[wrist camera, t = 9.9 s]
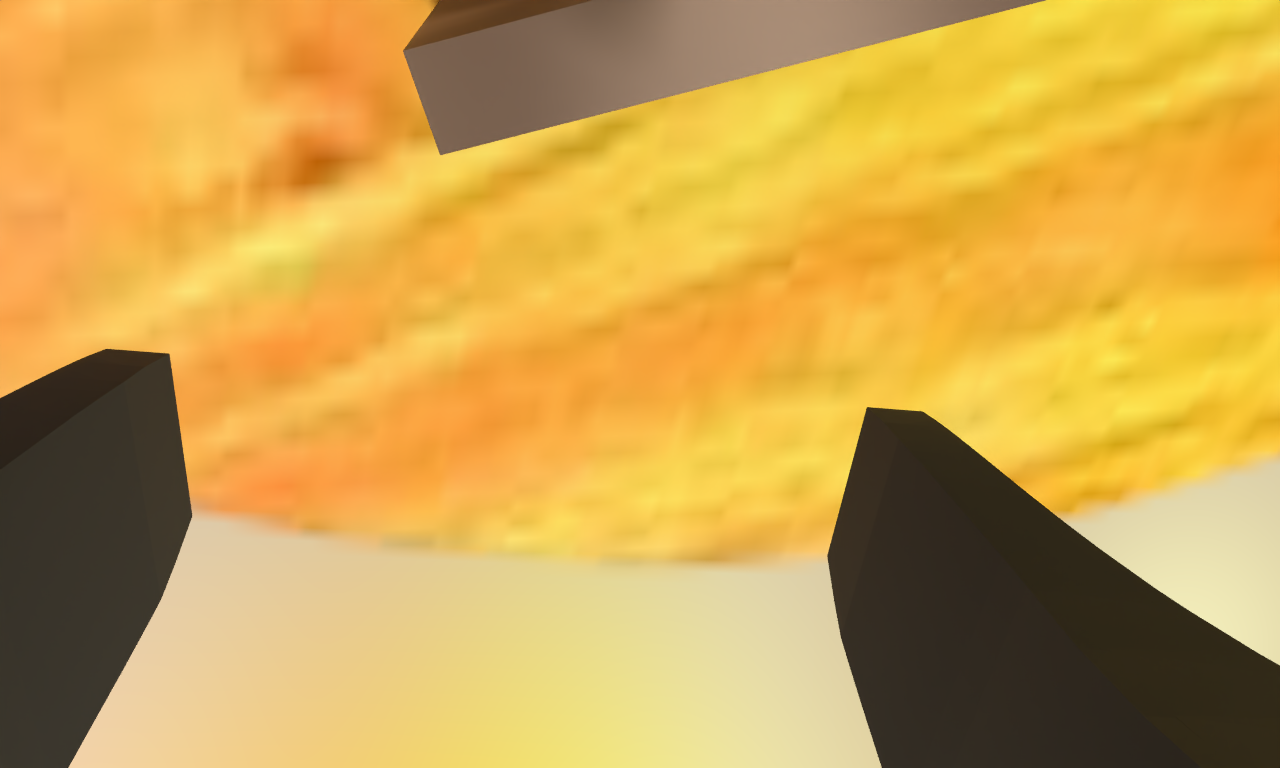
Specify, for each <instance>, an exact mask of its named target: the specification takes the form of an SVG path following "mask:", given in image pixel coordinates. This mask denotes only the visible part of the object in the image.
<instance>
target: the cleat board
mask: <svg viewBox="0 0 1280 768" xmlns="http://www.w3.org/2000/svg"><path fill="white" fill-rule="evenodd" d="M1041 1H1044V0H440V1H439V2H438V4H437V5H436V7H435V8H434V9H433V11H432V12H431V13H430V15H429V16H428V18H427V19H426V20H425V22H424V23H423V24H422V26H421V27H420V28H419V30H418V31H417V33H416V34H415V35H414V37H413V38H412V39H411V41H410V42H409V44H408V45H407V46H406V48H405V49H404V50H403V52H404V55H405V58H406V60H407V63H408V66H409V69H410V72H411V74H412V77H413V80H414V83H415V86H416V88H417V91H418V94H419V97H420V100H421V102H422V105H423V108H424V111H425V114H426V116H427V119H428V122H429V125H430V128H431V130H432V133H433V136H434V139H435V142H436V144H437V147H438V150H439V153H440V155H443V154H447V153H451V152H455V151H459V150H463V149H467V148H470V147H474V146H478V145H482V144H486V143H490V142H494V141H498V140H502V139H506V138H509V137H513V136H517V135H521V134H525V133H529V132H533V131H537V130H541V129H545V128H549V127H552V126H556V125H560V124H564V123H568V122H572V121H576V120H580V119H584V118H588V117H591V116H595V115H599V114H603V113H607V112H611V111H615V110H619V109H623V108H627V107H631V106H634V105H638V104H642V103H646V102H650V101H654V100H658V99H662V98H666V97H670V96H673V95H677V94H681V93H685V92H689V91H693V90H697V89H701V88H705V87H709V86H713V85H716V84H720V83H724V82H728V81H732V80H736V79H740V78H744V77H748V76H752V75H756V74H759V73H763V72H767V71H771V70H775V69H779V68H783V67H787V66H791V65H795V64H798V63H802V62H806V61H810V60H814V59H818V58H822V57H826V56H830V55H834V54H838V53H841V52H845V51H849V50H853V49H857V48H861V47H865V46H869V45H873V44H877V43H880V42H884V41H888V40H892V39H896V38H900V37H904V36H908V35H912V34H916V33H920V32H923V31H927V30H931V29H935V28H939V27H943V26H947V25H951V24H955V23H959V22H962V21H966V20H970V19H974V18H978V17H982V16H986V15H990V14H994V13H998V12H1002V11H1005V10H1009V9H1013V8H1017V7H1021V6H1025V5H1029V4H1033V3H1037V2H1041Z"/></svg>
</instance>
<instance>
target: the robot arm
mask: <svg viewBox="0 0 1280 768" xmlns="http://www.w3.org/2000/svg"><path fill="white" fill-rule="evenodd" d="M191 518H192V511H191V504H190V497H189V489H188V482H187V475H186V468H185V461H184V454H183V447H182V440H181V433H180V426H179V419H178V412H177V405H176V397H175V390H174V383H173V376H172V369H171V362H170V355H169V354H166V353H153V352H140V351H127V350H114V349H105V350H102V351H100V352H97V353H95V354H92V355H89V356H87V357H85V358H82V359H80V360H78V361H75V362H73V363H71V364H69V365H67V366H65V367H62V368H60V369H58V370H56V371H54V372H52V373H50V374H48V375H46V376H44V377H42V378H40V379H38V380H36V381H34V382H32V383H30V384H28V385H26V386H24V387H22V388H20V389H18V390H16V391H14V392H12V393H10V394H8V395H6V396H4V397H2V398H0V768H68V767H69V765H70V763H71V762H72V760H73V758H74V756H75V755H76V753H77V751H78V749H79V748H80V746H81V744H82V742H83V740H84V738H85V737H86V735H87V733H88V731H89V729H90V728H91V726H92V724H93V722H94V720H95V719H96V717H97V715H98V713H99V712H100V710H101V708H102V706H103V705H104V703H105V701H106V699H107V697H108V696H109V694H110V692H111V690H112V688H113V687H114V685H115V683H116V681H117V679H118V677H119V676H120V674H121V672H122V671H123V669H124V667H125V665H126V663H127V661H128V660H129V658H130V656H131V654H132V652H133V650H134V649H135V647H136V645H137V643H138V641H139V639H140V638H141V636H142V634H143V632H144V630H145V628H146V627H147V625H148V622H149V621H150V619H151V617H152V615H153V614H154V612H155V610H156V608H157V606H158V604H159V602H160V600H161V598H162V596H163V593H164V590H165V588H166V585H167V583H168V580H169V578H170V575H171V573H172V570H173V568H174V565H175V563H176V560H177V557H178V554H179V552H180V548H181V546H182V543H183V540H184V538H185V535H186V532H187V529H188V526H189V523H190V521H191ZM827 556H828V563H829V569H830V576H831V583H832V589H833V596H834V601H835V607H836V613H837V618H838V624H839V629H840V635H841V639H842V642H843V646H844V649H845V652H846V656H847V659H848V662H849V666H850V669H851V672H852V675H853V678H854V682H855V684H856V688H857V691H858V694H859V697H860V701H861V704H862V707H863V710H864V713H865V716H866V720H867V723H868V726H869V729H870V732H871V735H872V738H873V742H874V745H875V747H876V751H877V754H878V757H879V760H880V763H881V766H882V768H1280V665H1278V664H1276V663H1274V662H1273V661H1271V660H1269V659H1267V658H1265V657H1264V656H1262V655H1260V654H1258V653H1257V652H1255V651H1254V650H1252V649H1250V648H1249V647H1247V646H1245V645H1244V644H1242V643H1241V642H1239V641H1237V640H1236V639H1234V638H1232V637H1231V636H1229V635H1228V634H1226V633H1224V632H1223V631H1221V630H1219V629H1218V628H1216V627H1214V626H1213V625H1211V624H1210V623H1208V622H1206V621H1205V620H1203V619H1202V618H1200V617H1198V616H1197V615H1195V614H1193V613H1192V612H1190V611H1189V610H1187V609H1186V608H1184V607H1182V606H1181V605H1179V604H1178V603H1176V602H1175V601H1173V600H1171V599H1170V598H1169V597H1167V596H1166V595H1164V594H1163V593H1161V592H1160V591H1158V590H1157V589H1155V588H1154V587H1152V586H1151V585H1150V584H1148V583H1147V582H1145V581H1144V580H1142V579H1141V578H1140V577H1138V576H1137V575H1136V574H1134V573H1133V572H1131V571H1130V570H1129V569H1127V568H1126V567H1124V566H1123V565H1121V564H1120V563H1118V562H1117V561H1116V560H1115V559H1113V558H1112V557H1110V556H1109V555H1108V554H1106V553H1105V552H1103V551H1102V550H1100V549H1099V548H1098V547H1096V546H1095V545H1094V544H1092V543H1091V542H1090V541H1089V540H1087V539H1086V538H1085V537H1083V536H1082V535H1081V534H1079V533H1078V532H1077V531H1075V530H1074V529H1073V528H1071V527H1070V526H1069V525H1067V524H1066V523H1065V522H1064V521H1062V520H1061V519H1060V518H1058V517H1057V516H1056V515H1054V514H1053V513H1052V512H1051V511H1049V510H1048V509H1047V508H1046V507H1044V506H1043V505H1042V504H1041V503H1039V502H1038V501H1037V500H1036V499H1034V498H1033V497H1032V496H1030V495H1029V494H1028V493H1027V492H1026V491H1024V490H1023V489H1022V488H1021V487H1019V486H1018V485H1017V484H1016V483H1014V482H1013V481H1012V480H1011V479H1009V478H1008V477H1007V476H1006V475H1004V474H1003V473H1002V472H1001V471H1000V470H998V469H997V468H996V467H995V466H993V465H992V464H991V463H990V462H988V461H987V460H986V459H985V458H984V457H982V456H981V455H980V454H979V453H977V452H976V451H975V450H974V449H972V448H971V447H970V446H969V445H967V444H966V443H965V442H964V441H962V440H961V439H960V438H959V437H957V436H956V435H955V434H953V433H952V432H951V431H950V430H948V429H947V428H946V427H944V426H943V425H942V424H940V423H939V422H937V421H936V420H935V419H933V418H932V417H930V416H929V415H927V414H926V413H924V412H922V411H909V410H896V409H883V408H870V407H867V409H866V413H865V417H864V421H863V424H862V428H861V432H860V436H859V439H858V443H857V447H856V451H855V454H854V458H853V462H852V466H851V469H850V473H849V477H848V481H847V484H846V488H845V492H844V495H843V499H842V503H841V507H840V510H839V514H838V518H837V522H836V525H835V529H834V533H833V537H832V540H831V544H830V548H829V552H828V555H827Z"/></svg>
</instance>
